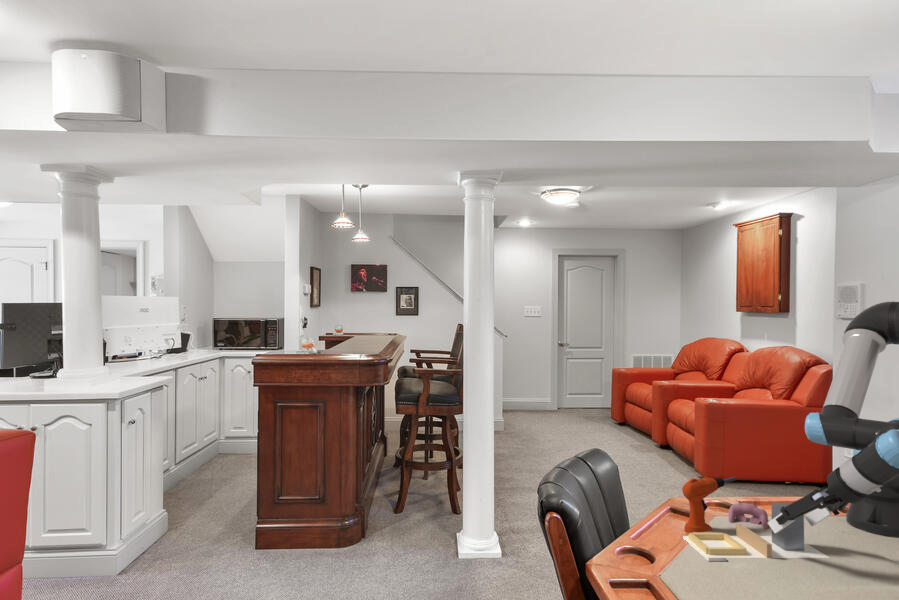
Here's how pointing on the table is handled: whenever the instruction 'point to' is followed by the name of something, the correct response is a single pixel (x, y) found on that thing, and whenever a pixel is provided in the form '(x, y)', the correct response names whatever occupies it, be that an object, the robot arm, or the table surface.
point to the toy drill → (700, 501)
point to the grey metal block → (789, 531)
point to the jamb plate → (743, 546)
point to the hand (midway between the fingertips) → (790, 524)
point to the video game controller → (745, 508)
